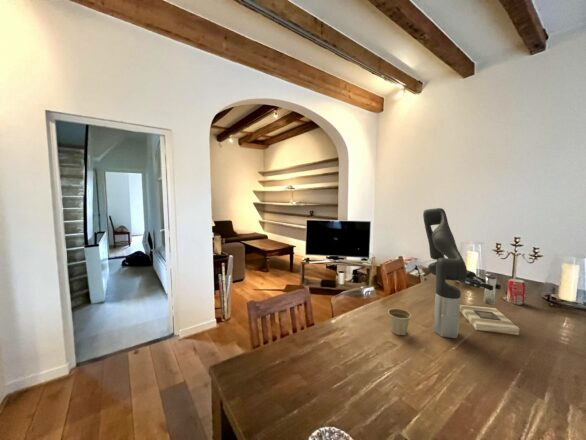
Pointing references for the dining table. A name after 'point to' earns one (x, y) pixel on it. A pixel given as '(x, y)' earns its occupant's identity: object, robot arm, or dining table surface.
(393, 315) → the flower pot
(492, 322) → the block
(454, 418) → the dining table surface
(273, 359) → the dining table surface
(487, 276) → the slim silver can
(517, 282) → the soda can
